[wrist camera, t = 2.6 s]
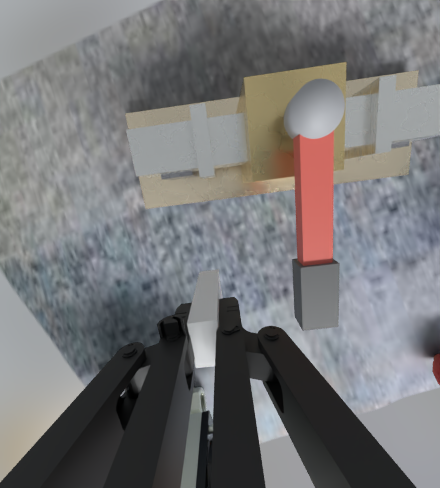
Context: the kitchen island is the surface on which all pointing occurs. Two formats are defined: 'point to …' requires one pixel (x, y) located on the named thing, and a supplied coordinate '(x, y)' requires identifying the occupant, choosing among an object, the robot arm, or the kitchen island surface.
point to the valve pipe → (276, 136)
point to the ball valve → (198, 444)
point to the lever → (315, 201)
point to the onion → (436, 367)
